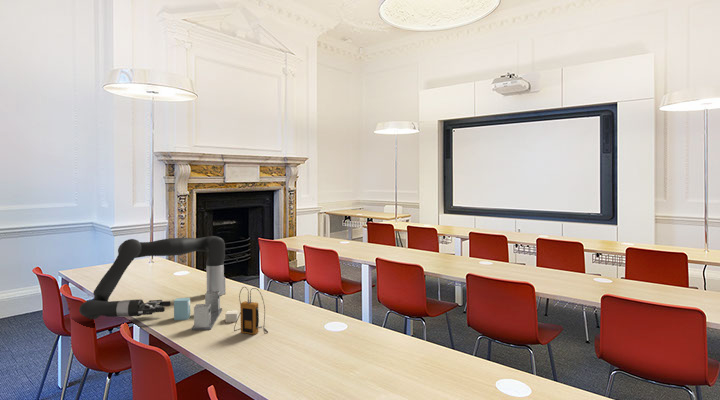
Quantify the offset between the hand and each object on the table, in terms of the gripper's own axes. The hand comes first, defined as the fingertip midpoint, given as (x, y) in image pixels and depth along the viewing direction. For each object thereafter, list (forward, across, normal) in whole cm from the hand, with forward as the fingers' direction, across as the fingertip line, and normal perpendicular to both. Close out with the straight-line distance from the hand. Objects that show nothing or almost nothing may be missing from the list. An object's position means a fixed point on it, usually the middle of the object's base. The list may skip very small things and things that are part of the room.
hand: (167, 306), depth 184 cm
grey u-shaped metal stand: (+19, -4, +6) cm, 20 cm away
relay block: (+30, -6, +6) cm, 31 cm away
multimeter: (+42, -20, +6) cm, 47 cm away
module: (+6, 0, +6) cm, 9 cm away
